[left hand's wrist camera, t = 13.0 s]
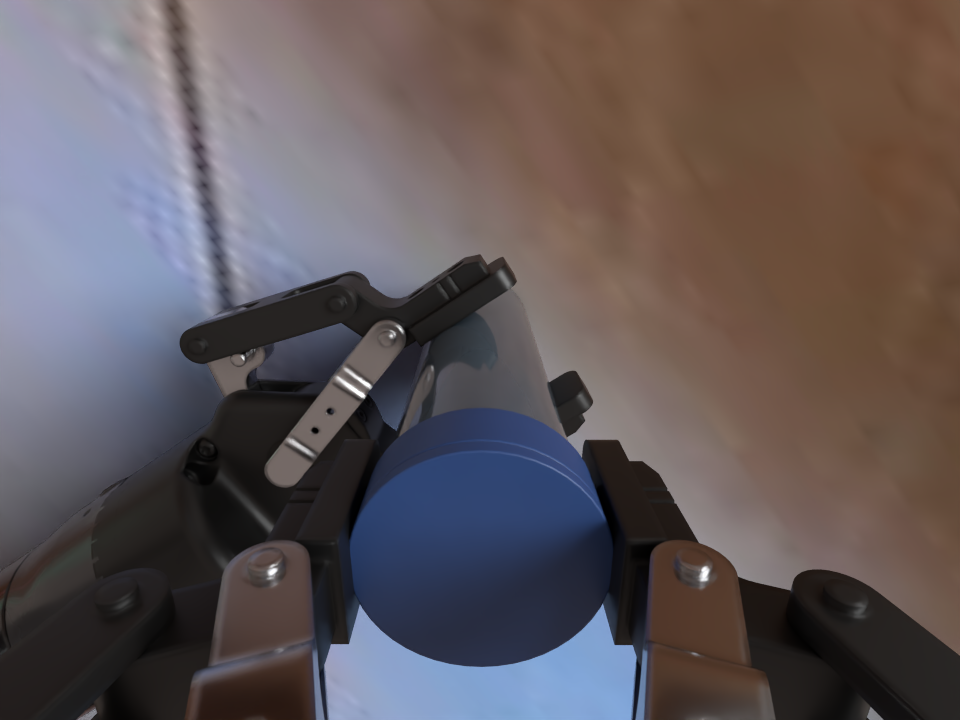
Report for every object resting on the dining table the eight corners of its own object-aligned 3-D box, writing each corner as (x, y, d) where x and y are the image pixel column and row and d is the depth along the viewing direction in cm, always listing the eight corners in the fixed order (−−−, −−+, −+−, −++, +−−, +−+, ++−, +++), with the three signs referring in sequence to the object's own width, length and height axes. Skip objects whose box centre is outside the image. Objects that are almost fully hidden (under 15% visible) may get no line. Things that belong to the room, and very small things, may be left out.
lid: (526, 363, 10) (536, 401, 8) (633, 544, 11) (658, 606, 10) (320, 474, 11) (292, 528, 9) (443, 630, 12) (437, 700, 11)
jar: (543, 302, 24) (639, 499, 10) (502, 382, 25) (531, 660, 11) (456, 261, 23) (420, 408, 9) (418, 346, 25) (334, 590, 10)
